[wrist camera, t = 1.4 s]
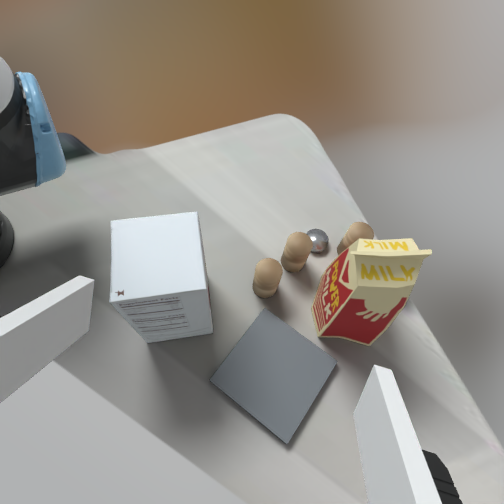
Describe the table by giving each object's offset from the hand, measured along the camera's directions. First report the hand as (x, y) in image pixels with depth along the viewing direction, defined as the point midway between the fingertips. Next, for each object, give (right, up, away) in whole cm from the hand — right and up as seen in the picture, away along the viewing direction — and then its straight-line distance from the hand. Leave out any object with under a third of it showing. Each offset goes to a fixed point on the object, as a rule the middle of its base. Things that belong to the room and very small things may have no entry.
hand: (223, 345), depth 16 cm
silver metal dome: (+11, +6, +40) cm, 42 cm away
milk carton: (+14, -4, +35) cm, 38 cm away
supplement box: (-9, -4, +34) cm, 35 cm away
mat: (+4, -12, +30) cm, 33 cm away
